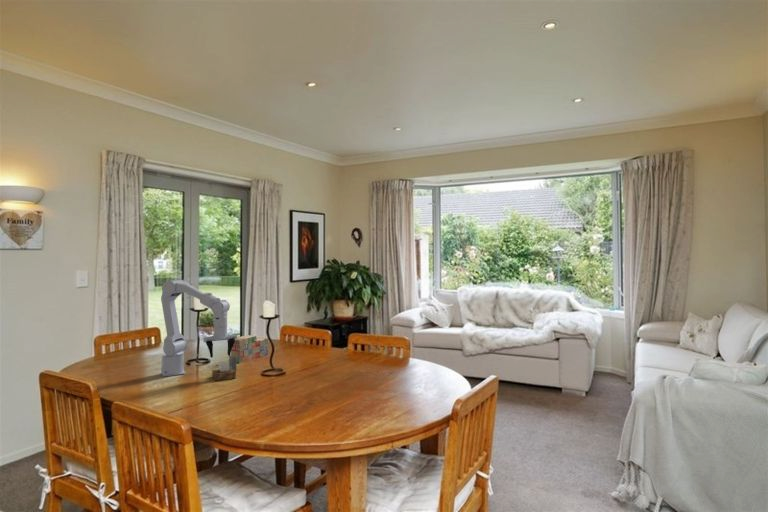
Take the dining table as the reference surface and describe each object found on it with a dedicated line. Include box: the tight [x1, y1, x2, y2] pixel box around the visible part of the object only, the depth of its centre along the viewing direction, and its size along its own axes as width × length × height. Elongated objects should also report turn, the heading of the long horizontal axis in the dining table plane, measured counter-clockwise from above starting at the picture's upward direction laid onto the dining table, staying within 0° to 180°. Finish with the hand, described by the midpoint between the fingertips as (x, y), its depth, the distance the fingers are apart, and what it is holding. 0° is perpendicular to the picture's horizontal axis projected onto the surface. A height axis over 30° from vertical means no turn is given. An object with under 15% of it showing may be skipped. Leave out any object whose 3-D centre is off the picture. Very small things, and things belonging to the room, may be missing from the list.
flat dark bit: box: [228, 354, 237, 373], centre depth 208 cm, size 2×6×7 cm, turn 32°
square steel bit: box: [217, 360, 229, 373], centre depth 197 cm, size 4×4×7 cm
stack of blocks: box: [230, 334, 269, 364], centre depth 234 cm, size 21×6×12 cm, turn 154°
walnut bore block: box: [211, 368, 237, 382], centre depth 197 cm, size 8×8×3 cm
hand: (220, 356), depth 200 cm, fingers open, 7 cm apart
